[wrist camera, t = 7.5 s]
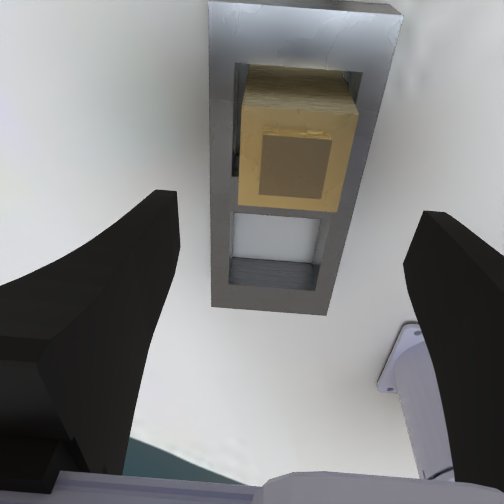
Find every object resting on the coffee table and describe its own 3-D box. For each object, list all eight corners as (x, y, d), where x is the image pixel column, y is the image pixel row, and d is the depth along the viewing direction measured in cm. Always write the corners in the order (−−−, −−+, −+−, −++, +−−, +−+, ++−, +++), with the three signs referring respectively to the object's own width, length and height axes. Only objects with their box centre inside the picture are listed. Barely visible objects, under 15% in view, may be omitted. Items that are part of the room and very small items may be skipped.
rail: (389, 4, 16) (403, 15, 15) (322, 288, 27) (326, 315, 25) (216, -9, 16) (208, 1, 15) (216, 279, 27) (211, 306, 25)
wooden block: (340, 68, 18) (360, 119, 14) (324, 151, 21) (338, 217, 16) (250, 61, 18) (240, 110, 14) (246, 145, 21) (237, 210, 16)
